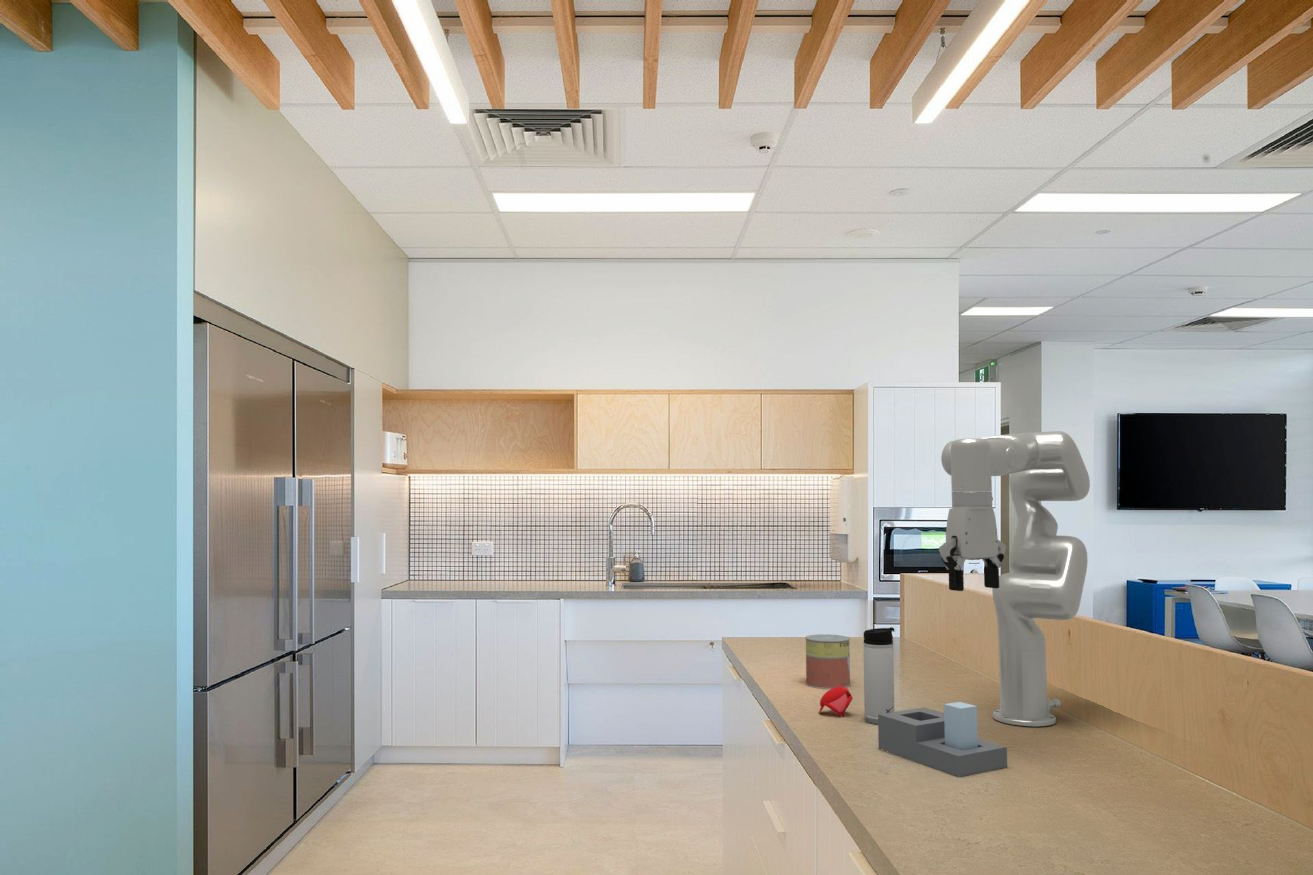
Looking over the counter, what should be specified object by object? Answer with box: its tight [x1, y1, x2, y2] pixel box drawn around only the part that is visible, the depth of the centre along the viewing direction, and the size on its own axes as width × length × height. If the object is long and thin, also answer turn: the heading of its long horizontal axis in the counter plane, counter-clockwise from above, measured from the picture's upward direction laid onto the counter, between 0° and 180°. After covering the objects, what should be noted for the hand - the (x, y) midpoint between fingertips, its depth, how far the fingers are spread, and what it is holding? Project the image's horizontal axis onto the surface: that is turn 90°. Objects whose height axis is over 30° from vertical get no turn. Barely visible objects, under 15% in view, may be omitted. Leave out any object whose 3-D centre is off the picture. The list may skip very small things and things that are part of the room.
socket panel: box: [877, 707, 1008, 778], centre depth 167 cm, size 12×20×6 cm, turn 28°
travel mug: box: [862, 626, 896, 726], centre depth 195 cm, size 6×7×20 cm
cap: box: [818, 687, 853, 717], centre depth 201 cm, size 8×6×6 cm
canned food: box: [805, 634, 851, 690], centre depth 233 cm, size 11×11×12 cm
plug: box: [943, 701, 979, 750], centre depth 163 cm, size 4×5×10 cm
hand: (974, 589), depth 176 cm, fingers open, 9 cm apart
